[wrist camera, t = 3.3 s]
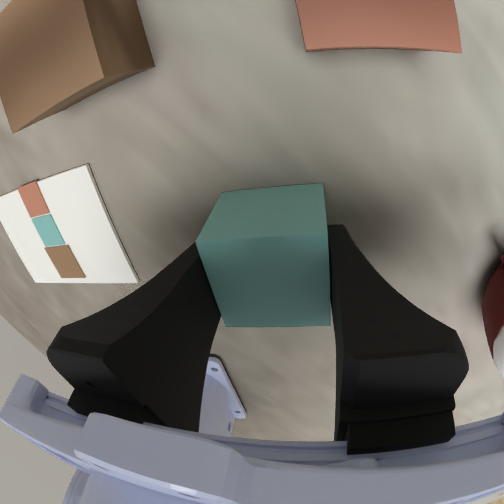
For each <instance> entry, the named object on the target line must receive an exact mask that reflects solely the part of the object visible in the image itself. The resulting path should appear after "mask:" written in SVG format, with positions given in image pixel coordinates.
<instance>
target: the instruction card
mask: <svg viewBox="0 0 504 504" xmlns="http://www.w3.org/2000/svg"><path fill="white" fill-rule="evenodd" d="M0 220H1V222H2V224H3V226H4V228H5V230H6V232H7V234H8V236H9V238H10V240H11V242H12V243H13V245H14V247H15V249H16V251H17V252H18V254H19V256H20V258H21V259H22V261H23V263H24V265H25V266H26V268H27V270H28V271H29V273H30V274H31V276H32V278H33V279H34V281H35V282H36V283H138V282H139V279H138V277H137V275H136V273H135V271H134V269H133V267H132V264H131V262H130V260H129V258H128V256H127V254H126V252H125V250H124V248H123V246H122V243H121V241H120V239H119V237H118V235H117V232H116V230H115V228H114V226H113V223H112V221H111V219H110V216H109V214H108V212H107V209H106V207H105V205H104V202H103V200H102V197H101V195H100V192H99V190H98V187H97V185H96V182H95V180H94V177H93V175H92V172H91V169H90V167H89V164H85V165H82V166H79V167H76V168H73V169H70V170H67V171H64V172H61V173H58V174H56V175H53V176H50V177H47V178H45V179H42V180H39V181H34V182H31V183H29V184H26V185H24V186H21V187H19V188H17V189H16V190H14V191H12V192H9V193H7V194H5V195H2V196H0Z"/></svg>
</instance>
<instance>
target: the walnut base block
mask: <svg viewBox="0 0 504 504" xmlns="http://www.w3.org/2000/svg"><path fill="white" fill-rule="evenodd" d="M152 67H155V65H154V61H153V58H152V55H151V51H150V48H149V44H148V41H147V38H146V34H145V31H144V27H143V24H142V20H141V17H140V13H139V10H138V6H137V2H136V0H12V1H11V2H10V3H9V4H8V5H7V6H6V7H5V8H4V9H3V10H2V12H1V13H0V97H1V100H2V103H3V106H4V110H5V113H6V116H7V119H8V122H9V125H10V128H11V130H12V133H13V134H14V133H16V132H18V131H20V130H22V129H24V128H26V127H28V126H30V125H32V124H34V123H36V122H38V121H40V120H42V119H44V118H47V117H49V116H51V115H53V114H56V113H58V112H60V111H63V110H65V109H67V108H68V107H70V106H72V105H74V104H76V103H77V102H79V101H81V100H83V99H85V98H87V97H89V96H91V95H93V94H94V93H96V92H98V91H100V90H102V89H104V88H107V87H109V86H111V85H113V84H115V83H117V82H119V81H122V80H124V79H126V78H128V77H131V76H133V75H135V74H138V73H140V72H142V71H145V70H147V69H150V68H152Z"/></svg>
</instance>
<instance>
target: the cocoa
mask: <svg viewBox="0 0 504 504" xmlns="http://www.w3.org/2000/svg"><path fill="white" fill-rule="evenodd" d="M500 259H501V262H502V263H501V264H500V265H499V266H498V268H497V269H496V271H495V272H494V274H493V275H492V277H491V278H490V280H489V281H488V285H487V289H486V292H485V296H484V299H483V303H482V312H483V321H484V327H485V332H486V337H487V341H488V345H489V348H490V352H491V355H492V359H493V361H494V364H495V366H496V367H497V369H498V371H499V373H500V374H501V376H502V378H503V379H504V254H503V255H502V256H501V257H500Z"/></svg>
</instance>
